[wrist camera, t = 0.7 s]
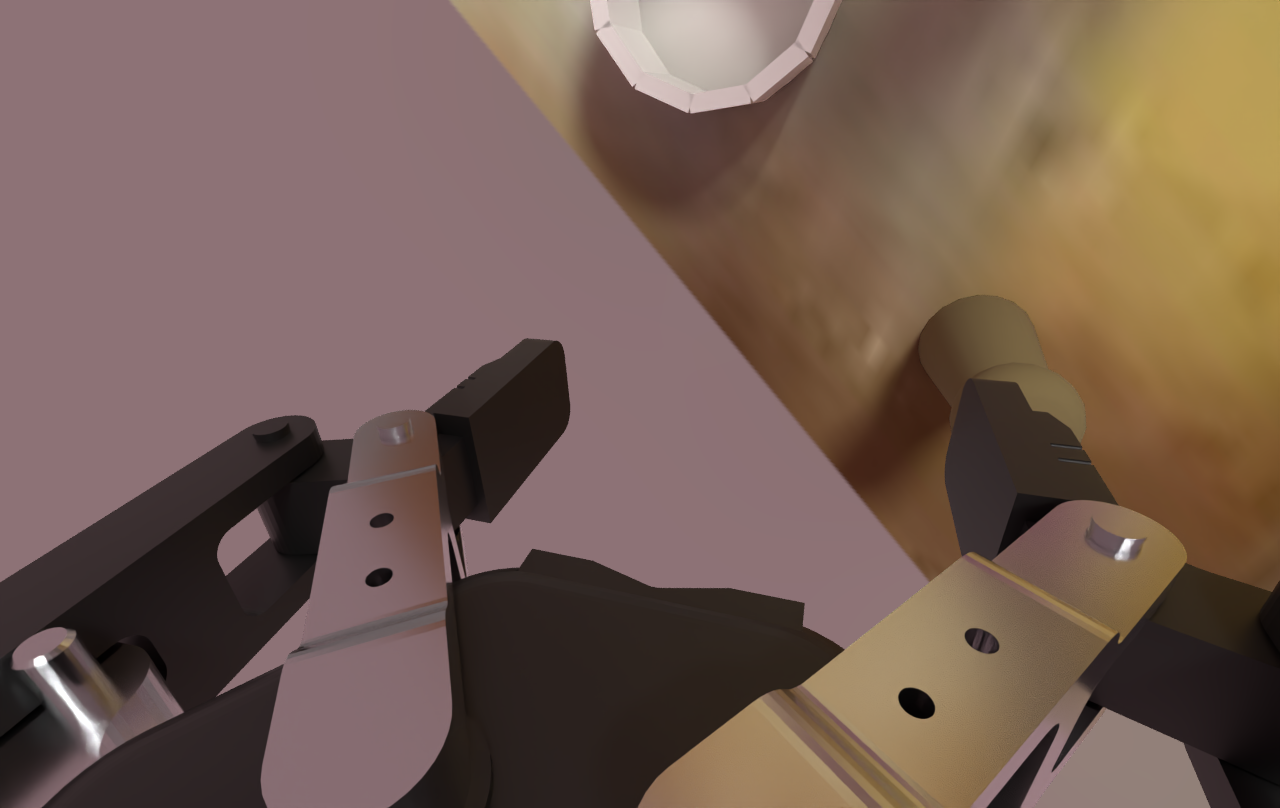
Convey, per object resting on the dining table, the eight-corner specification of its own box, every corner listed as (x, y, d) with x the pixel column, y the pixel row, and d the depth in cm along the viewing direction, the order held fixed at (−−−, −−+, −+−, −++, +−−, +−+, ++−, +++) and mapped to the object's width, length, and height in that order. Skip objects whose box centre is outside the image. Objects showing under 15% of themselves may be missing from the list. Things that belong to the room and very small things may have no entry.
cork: (896, 360, 36) (915, 453, 27) (965, 275, 33) (1014, 348, 24) (983, 408, 36) (1033, 520, 27) (1061, 328, 33) (1149, 423, 23)
